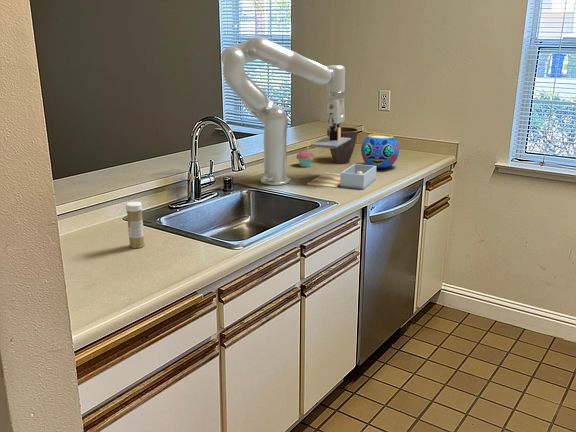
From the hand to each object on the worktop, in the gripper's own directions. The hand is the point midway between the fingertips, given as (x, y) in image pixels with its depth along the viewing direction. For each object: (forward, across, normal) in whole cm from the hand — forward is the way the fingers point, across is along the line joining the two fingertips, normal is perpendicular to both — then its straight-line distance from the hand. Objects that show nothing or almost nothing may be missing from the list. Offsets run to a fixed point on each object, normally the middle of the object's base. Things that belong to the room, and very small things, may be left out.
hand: (334, 138), depth 253 cm
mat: (+17, -4, 0) cm, 18 cm away
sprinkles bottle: (+17, -103, +26) cm, 108 cm away
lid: (+1, -4, 0) cm, 4 cm away
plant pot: (+18, +32, +8) cm, 37 cm away
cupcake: (+17, +17, +21) cm, 32 cm away
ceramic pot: (+18, +28, -12) cm, 35 cm away
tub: (+17, -4, -12) cm, 22 cm away
